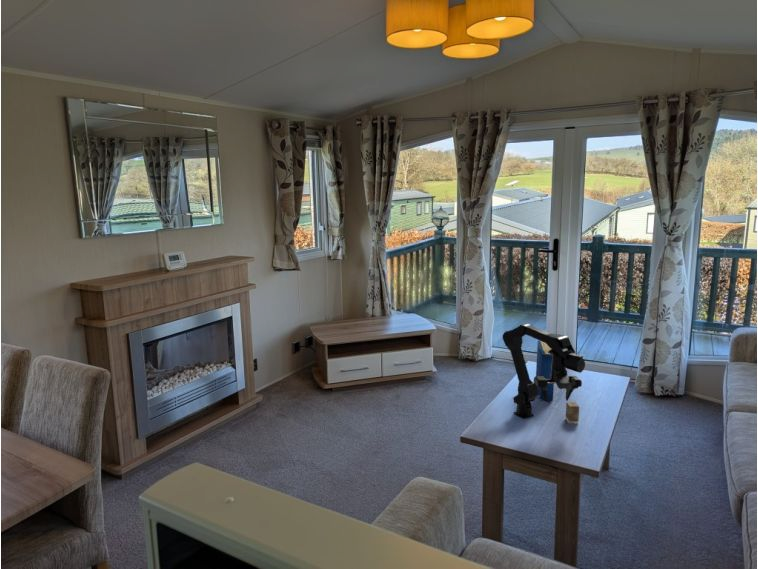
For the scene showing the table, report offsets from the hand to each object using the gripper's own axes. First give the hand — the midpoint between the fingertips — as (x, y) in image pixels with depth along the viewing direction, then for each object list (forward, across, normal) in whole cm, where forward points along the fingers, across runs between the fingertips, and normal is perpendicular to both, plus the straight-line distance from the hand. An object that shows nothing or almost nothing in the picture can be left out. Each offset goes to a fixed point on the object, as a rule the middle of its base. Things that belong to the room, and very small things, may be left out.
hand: (556, 400), depth 224 cm
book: (+13, +9, +37) cm, 40 cm away
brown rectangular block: (+12, +10, +5) cm, 17 cm away
